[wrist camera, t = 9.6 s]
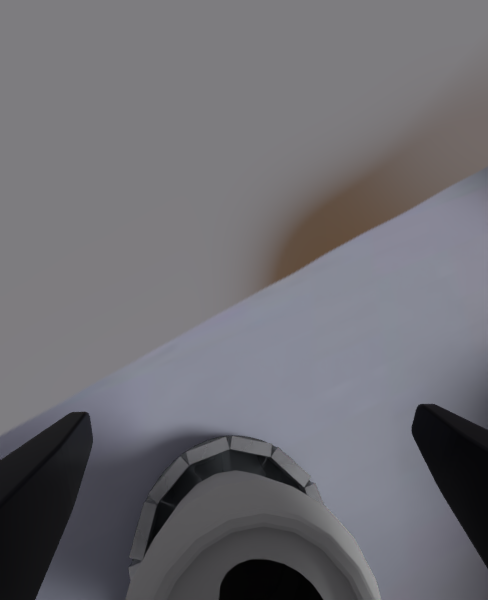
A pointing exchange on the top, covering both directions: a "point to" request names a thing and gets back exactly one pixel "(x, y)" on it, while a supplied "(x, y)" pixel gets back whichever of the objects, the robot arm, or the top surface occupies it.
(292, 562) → the can
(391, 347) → the top surface
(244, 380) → the top surface
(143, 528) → the rosette plate
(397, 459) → the top surface
